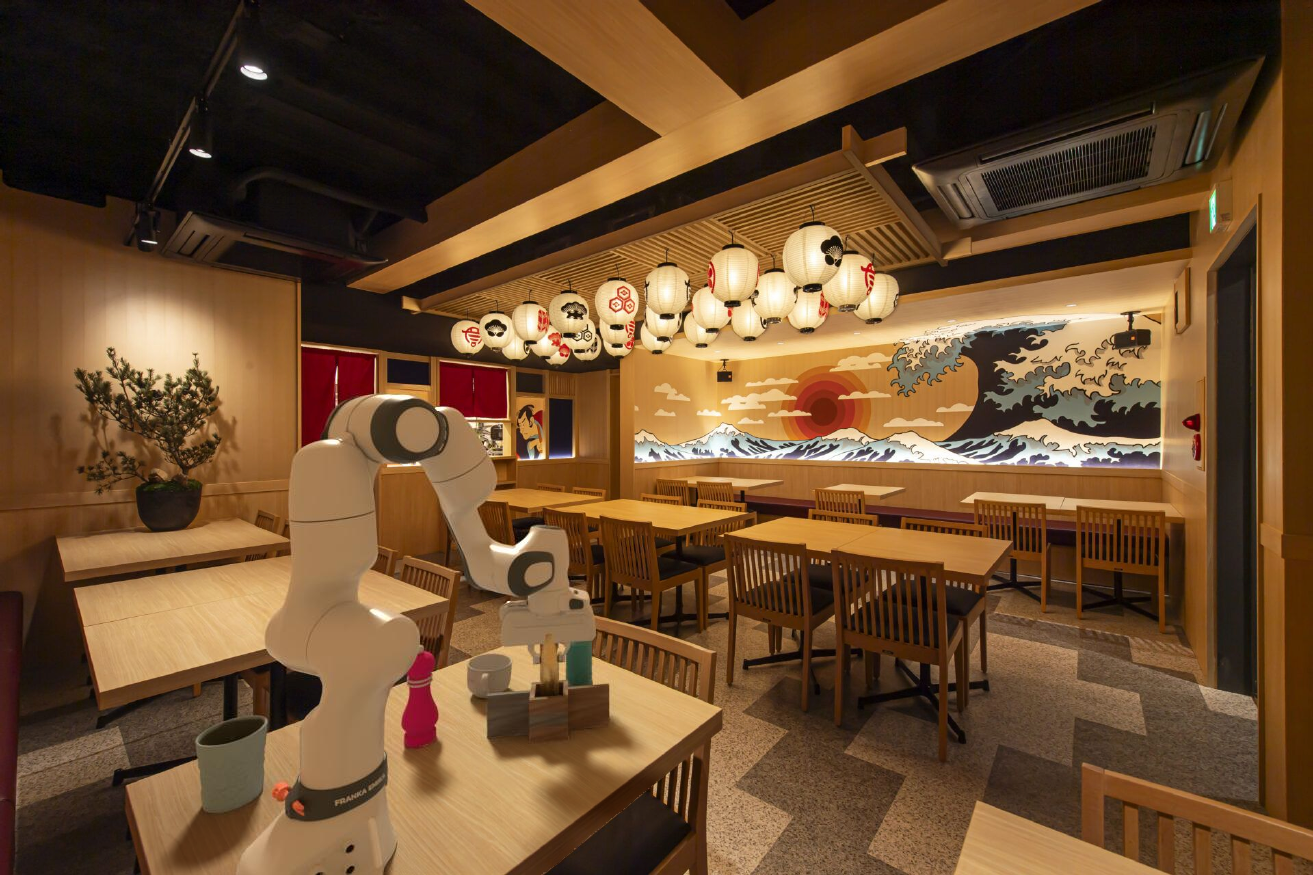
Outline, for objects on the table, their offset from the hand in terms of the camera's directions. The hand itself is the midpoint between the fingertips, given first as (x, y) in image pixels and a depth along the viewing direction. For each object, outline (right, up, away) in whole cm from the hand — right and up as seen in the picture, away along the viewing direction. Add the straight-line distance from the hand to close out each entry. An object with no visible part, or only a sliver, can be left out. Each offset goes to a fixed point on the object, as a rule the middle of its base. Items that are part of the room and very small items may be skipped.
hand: (549, 662), depth 115 cm
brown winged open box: (0, -15, 0) cm, 15 cm away
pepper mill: (-27, -15, -3) cm, 31 cm away
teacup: (-18, -15, +16) cm, 28 cm away
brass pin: (0, -9, 0) cm, 9 cm away
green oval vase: (-53, -16, -20) cm, 58 cm away
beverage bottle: (+5, -15, +11) cm, 19 cm away
